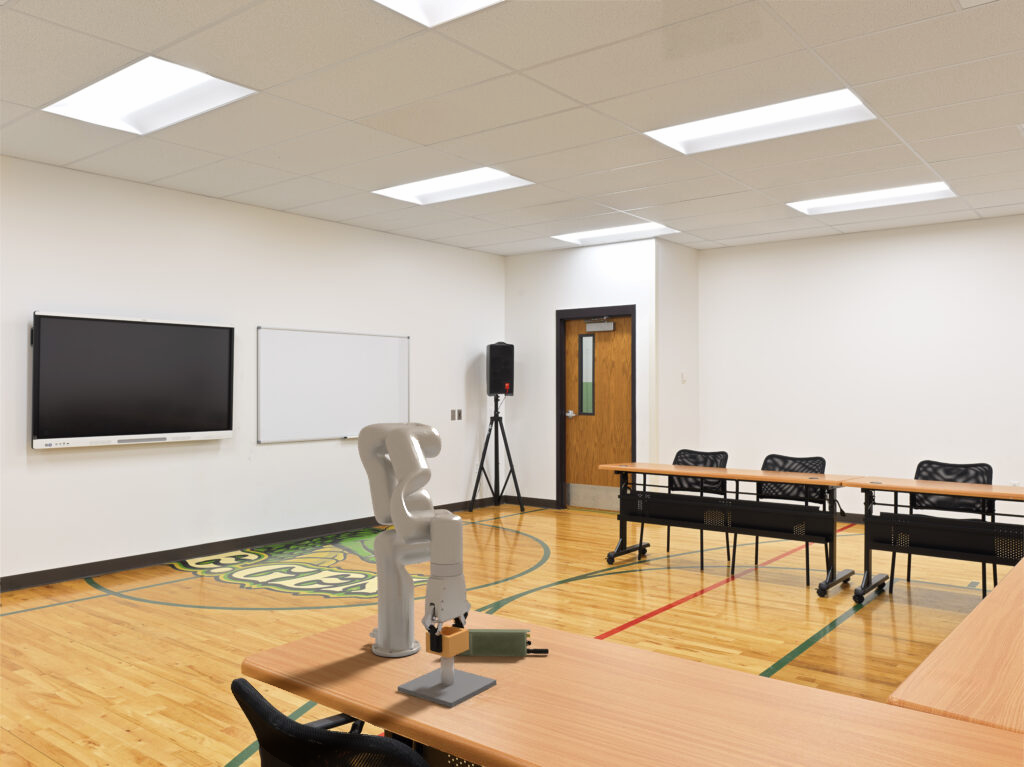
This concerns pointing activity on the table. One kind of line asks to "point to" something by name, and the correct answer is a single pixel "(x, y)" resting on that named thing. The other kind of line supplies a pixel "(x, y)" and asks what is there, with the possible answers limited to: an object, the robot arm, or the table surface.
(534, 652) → the handheld radio
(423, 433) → the robot arm
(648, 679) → the table surface
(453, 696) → the plate
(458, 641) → the orange open box
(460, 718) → the table surface
